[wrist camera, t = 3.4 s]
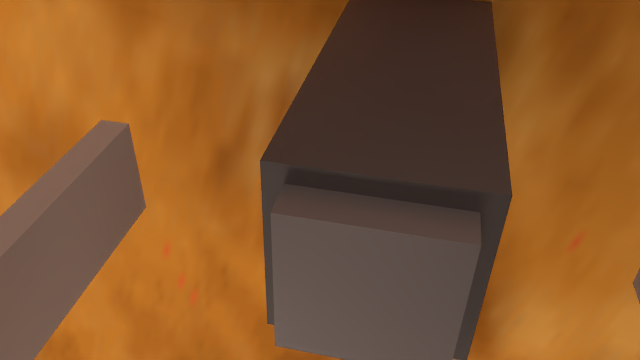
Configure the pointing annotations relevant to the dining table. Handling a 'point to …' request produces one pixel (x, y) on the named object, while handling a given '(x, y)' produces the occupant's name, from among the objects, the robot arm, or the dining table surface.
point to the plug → (388, 185)
